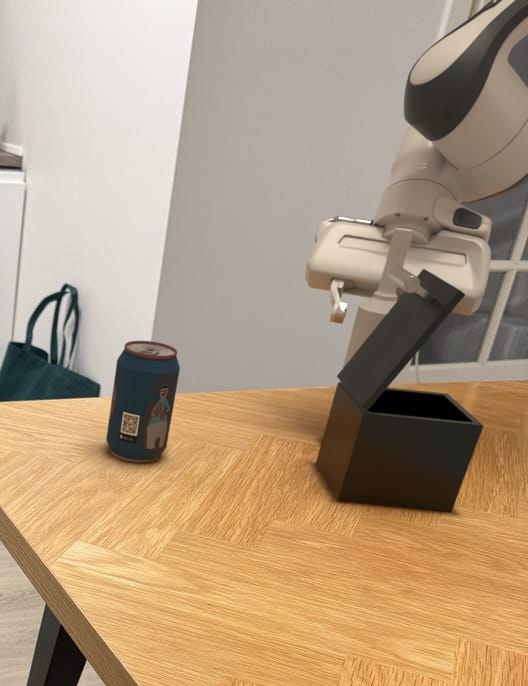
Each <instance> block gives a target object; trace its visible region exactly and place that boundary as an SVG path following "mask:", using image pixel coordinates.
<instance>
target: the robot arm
mask: <svg viewBox="0 0 528 686" xmlns="http://www.w3.org/2000/svg"><path fill="white" fill-rule="evenodd" d="M527 35H528V0H490V1H488V2H487V3H486V4H485V5H484V6H483V7H482V8H481V9H480V10H478V11H477V12H475V13H474V14H473V15H472V16H471V17H469V18H468V19H467V20H465V21H464V22H462V23H461V24H459V25H458V26H457V27H455V28H454V29H452V30H451V31H449V32H448V33H446V34H445V35H444V36H443V37H441V38H440V39H438V40H437V41H436V42H435V43H434V44H432V45H431V46H430V47H428V49H426V51H424V52H423V54H422V55H421V56H419V58H418V59H417V60H416V62H414V64H413V66H412V67H411V69H410V71H409V73H408V76H407V79H406V84H405V87H404V95H403V117H404V119H405V121H406V122H407V124H409V125H408V127H407V129H406V131H405V133H404V135H403V137H402V139H401V141H400V143H399V147H398V148H397V151H396V154H395V156H394V159H393V162H392V164H391V168H390V172H389V183H388V185H387V186H386V188H385V189H384V191H383V192H382V194H381V198H380V200H379V203H378V206H377V209H376V212H375V214H374V218H373V219H372V220H371V219H365V218H358V217H357V218H355V217H354V218H352V217H347V216H345V215H335V216H334V218H332V217H331V218H328V219H325V220H323V221H322V222H321V223H320V224H319V225H318V228H317V231H316V234H315V236H314V241H315V245H314V246H313V247H312V250H311V253H310V254H309V257H308V259H307V261H306V267H305V275H304V276H305V277H304V279H305V282H306V283H307V285H308V287H309V288H312V289H316V290H322V291H327V292H329V297H328V298H329V302H330V305H331V307H332V310H331V314H330V317H329V318H330V319H329V322H331V323H335V324H340V325H343V323H344V321H345V318H346V315H347V310H348V309H347V308H348V305H349V304H348V303H346V302H342V300H341V299H342V297H343V294H345V295H351V296H356V297H362V298H368V299H370V298H371V297H373V294H374V292H376V291H377V290H378V288H379V284H380V281H381V277H382V274H383V270H384V267H385V263H386V260H387V256H388V253H389V249H390V244H391V240H392V237H393V233H394V230H395V228H405V229H410V230H413V231H414V233H413V236H412V240H411V243H410V246H409V249H408V251H407V255H406V258H405V262H404V265H403V268H404V269H405V270H407V271H408V272H410V273H412V274H413V275H415V276H416V277H417V276H418V275H419V274H420V272H421V271H422V270H423V269H425V270H427V271H429V272H430V273H432V274H434V275H435V276H437V277H439V278H440V279H442V280H444V281H445V282H447V283H449V284H451V285H452V286H454V287H456V288H457V289H459V290H461V291H462V292H463V293H464V294H465V296H464V297H463V298H462V300H461V301H460V302H459V303H458V304H457V306H456V307H455V308H454V309H453V310H452V312H451V313H452V314H458V315H464V316H470V315H472V314H473V313H475V312H476V311H478V309H479V308H480V306H481V304H482V301H483V298H484V294H485V292H486V288H487V284H488V281H489V280H488V279H489V274H490V268H491V260H492V252H491V251H492V250H491V247H490V245H489V244H488V243H489V240H490V236H491V231H492V225H493V222H492V219H491V218H490V217H489V216H487V215H484V214H482V213H479V212H477V211H475V210H473V209H470V208H469V207H467V206H465V205H463V204H461V203H465V204H470V203H477V202H480V201H485V200H489V199H493V198H498V197H502V196H505V195H508V194H510V193H512V192H514V191H516V190H518V189H520V188H522V187H524V186H525V185H526V184H527V183H528V86H527V85H526V84H525V82H524V81H523V79H521V76H519V75H518V73H517V72H516V70H515V69H514V68H513V67H512V65H511V64H510V62H509V55H510V53H511V50H512V49H513V48H514V46H516V44H518V43H519V42H520V41H522V39H524V38H525V37H526V36H527ZM404 292H405V291H404V290H402V289H401V288H399V287H398V286H397V289H396V295H397V296H398V297H397V301H398V300H399V298H400V297H401V296H402V295H403V293H404Z"/></svg>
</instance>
